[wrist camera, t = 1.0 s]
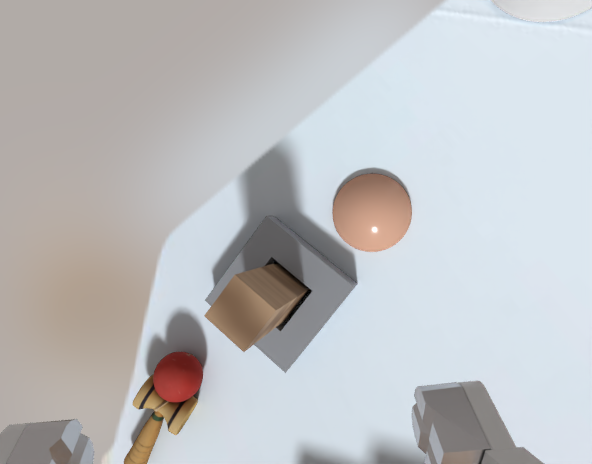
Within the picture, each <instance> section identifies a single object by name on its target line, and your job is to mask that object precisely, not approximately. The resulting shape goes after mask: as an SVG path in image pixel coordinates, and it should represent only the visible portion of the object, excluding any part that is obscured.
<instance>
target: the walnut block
mask: <svg viewBox="0 0 592 464" xmlns="http://www.w3.org/2000/svg"><path fill="white" fill-rule="evenodd" d="M309 290H310V288H308V287H307V286H306V285H305V284H304V283H302V282H301V281H300V280H299V279H298V278H296V277H295V276H294V275H293V274H292V273H290V272H289V271H288V270H287V269H286V268H284V267H283V266H282V265H281V264H280V263H274V264H270V265H267V266H263V267H260V268H256V269H253V270H249V271H246V272H242V273H239V274H235V275H234V276H233V278H232V279H231V280H230V282H229V283H228V284H227V286H226V287H225V288H224V290H223V291H222V293H221V294H220V295H219V297H218V298H217V299H216V301H215V302H214V303H213V305H212V306H211V307H210V309H209V310H208V312H207V313H206V314H205V317H206V318H207V319H208V320H209V321H210V322H211V323H213V324H214V325H215V326H216V327H217V328H218V329H219V330H220V331H221V332H222V333H224V334H225V335H226V336H227V337H228V338H229V339H230V340H231V341H232V342H233V343H234V344H236V345H237V346H238V347H239V348H240V349H241V350H242V351H243V352H245V351H246V350H247V349H248V348H250V347H251V346H252V345H254V344H255V343H256V342H257V341H259V340H260V339H261V338H263V337H264V336H265V335H266V334H268V333H269V332H270V331H272V330H273V329H274V328H275V327H277V326H278V325H279V324H281V323H282V322H283V321H285V320H286V319H287V318H288V317H289V315H290V314H291V313H292V311H293V310H294V309H295V308H296V306H297V305H298V304H299V303H300V301H301V300H302V299H303V297H304V296H305V295H306V294H307V292H308V291H309Z"/></svg>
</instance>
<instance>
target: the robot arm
mask: <svg viewBox="0 0 592 464" xmlns="http://www.w3.org/2000/svg"><path fill="white" fill-rule="evenodd" d="M491 1H492V2H493V3H494V4H495V5H496V6H497V7H498V8H500V9H501V10H502V11H504V12H506V13H507V14H509V15H511V16H514V17H516V18H519V19H522V20H527V21H533V22H552V21H559V20H563V19H567V18H571V17H573V16H576V15H579V14H581V13H583V12H585V11H587V10H589V9H591V8H592V0H491ZM414 397H415V400H416V404H415V405H414V406H413V407H412V425H413V430H414V435H415V438H416V442H417V445H418V447H419V448H420V449H421V450H422V451H423V452H424V453H425V454H426V457H425V463H424V464H544V463H542V462H541V461H540V460H539V459H537V458H536V457H535V456H534V455H532V454H531V453H530V452H529V451H527V450H526V449H525V448H524V447H516V446H515V444H514V442H513V440H512V438H511V436H510V434H509V432H508V430H507V428H506V426H505V425H504V423H503V421H502V419H501V417H500V415H499V413H498V411H497V409H496V407H495V405H494V403H493V401H492V400H491V398H490V396H489V394H488V392H487V390H486V388H485V386H484V385H483V384H482V383H481V382H480V381H468V382H459V383H457V382H453V383H444V384H436V385H427V386H418V387H417V388H416V389H415V394H414ZM81 430H82V425H81V424H80V422H79V421H78V420H77V419H73V420H61V421H51V422H39V423H25V424H15V425H9V426H8V427H6V428H5V429H4V430H3V432H1V434H0V464H93V459H94V449H93V443H92V442H91V440H90V438H89V437H87V436H85V435H83V434H81Z"/></svg>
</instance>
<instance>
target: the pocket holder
mask: <svg viewBox="0 0 592 464" xmlns="http://www.w3.org/2000/svg"><path fill="white" fill-rule="evenodd" d="M275 260H276V261H277V262H278V263H280V264H281V265H282V266H283V267H284V268H286V269H287V270H288V271H289V272H290V273H292V274H293V275H294V276H295V277H296V278H298V279H299V280H300V281H301V282H302V283H304V284H305V285H306V286H307V287H308V288H310V289H311V290H312V292H311V293H310V295H309V296H308V297H307V298H306V300H305V301H304V302H303V304H302V305H301V306H300V307H299V309H298V310H297V311H296V312H295V314H294V315H293V316H292V318H291V319H290V320H289V321H288V323H287V324H285V323H284V322H282V323H281V324H279V325H278V326H277V327H275V328H274V329H273V330H272V331H270V332H269V333H268V334H266V335H265V336H264V337H263V338H261V339H260V340H259V341H257V342H256V343H255V344H254V345H255V346H256V347H257V348H258V349H260V350H261V351H262V352H263V353H264V354H265V355H266V356H267V357H268V358H270V359H271V360H272V361H273V362H274V363H275V364H276V365H277V366H278V367H280V368H281V369H282V370H283V371H284V372H285V373H286V372H287V370H288V369H289V368H290V367H291V365H292V364H293V363H294V362H295V360H296V359H297V358H298V357H299V356H300V354H301V353H302V352H303V351H304V349H305V348H306V347H307V346H308V344H309V343H310V342H311V341H312V339H313V338H314V337H315V336H316V334H317V333H318V332H319V331H320V330H321V328H322V327H323V326H324V325H325V323H326V322H327V321H328V320H329V318H330V317H331V316H332V315H333V313H334V312H335V311H336V310H337V308H338V307H339V306H340V305H341V303H342V302H343V301H344V300H345V299H346V297H347V296H348V295H349V294H350V292H351V291H352V290H353V289H354V287H355V286H356V285H357V283H356V282H355V281H354V280H352V279H351V278H350V277H349V276H347V275H346V274H345V273H344V272H342V271H341V270H340V269H339V268H338V267H336V266H335V265H334V264H333V263H331V262H330V261H329V260H328V259H326V258H325V257H324V256H323V255H321V254H320V253H319V252H318V251H317V250H315V249H314V248H313V247H312V246H310V245H309V244H308V243H307V242H305V241H304V240H303V239H302V238H300V237H299V236H298V235H297V234H296V233H294V232H293V231H292V230H291V229H289V228H288V227H287V226H286V225H284V224H283V223H282V222H281V221H279V220H278V219H277V218H276V217H274V216H266V217H265V219H264V220H263V222H262V223H261V224H260V226H259V227H258V228H257V230H256V231H255V232H254V234H253V235H252V237H251V238H250V239H249V241H248V242H247V243H246V245H245V246H244V248H243V249H242V250H241V252H240V253H239V254H238V256H237V257H236V258H235V260H234V261H233V263H232V264H231V265H230V267H229V268H228V269H227V271H226V272H225V273H224V275H223V276H222V278H221V279H220V280H219V282H218V283H217V284H216V286H215V287H214V289H213V290H212V291H211V293H210V294H209V295H208V297H207V298H206V299H205V301H206V302H207V303H208V304H210V305H211V306H212V305H213V303H214V302H215V301H216V299H217V298H218V297H219V295H220V294H221V293H222V291H223V290H224V288H225V287H226V286H227V284H228V283H229V282H230V280H231V279H232V278H233V276H234V275H235V274H239V273H242V272H246V271H249V270H253V269H256V268H260V267H263V266H267V265H270V264H273V262H274V261H275Z"/></svg>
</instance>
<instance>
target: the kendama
mask: <svg viewBox="0 0 592 464" xmlns="http://www.w3.org/2000/svg"><path fill="white" fill-rule="evenodd" d="M202 379H203V370H202V366H201V364H200V362H199V361H198V359H197V358H196V357H194V356H193V355H192V354H189V353H186V352H174V353H171V354H169V355H167V356H165V357H164V358H163V359H162V360H161V361H160V362H159V363H158V365H157V367H156V369H155V371H154V375H152V376H150V377H149V378H148V379H147V381H146V382H145V383H144V385H143V386H142V387H141V389H140V390H139V392H138V393H137V395H136V397H135V399H134V401H133V406H135V407H136V408H137V409H143V408H150V409H154V412H153V414H152V415H151V417H150V418H149V420H148V421H147V422H146V424H145V425H144V427H143V429H142V430H141V432H140V434H139V436H138V437H137V439H136V441H135V442H134V444H133V446H132V448H131V449H130V451H129V453H128V454H127V456H126V457H125V460H124V464H147V462H148V459H149V456H150V454H151V451H152V449H153V446H154V444H155V442H156V439H157V437H158V434H159V432H160V429H161V426H162V422H163V419H164V418H165V420H166V422H167V425H168V431H169V432H171V433H173V434H174V435H177V434H178V433H179V432H180V430H181V429H182V427H183V426H184V424H185V423H186V421H187V420H188V418H189V416H190V415H191V413H192V411H193V410H194V408H195V406H196V405H197V402H198V399H196V398H195V397H193V395H194V394H195V393H196V392H197V391H198V389H199V388H200V386H201V383H202Z"/></svg>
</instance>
